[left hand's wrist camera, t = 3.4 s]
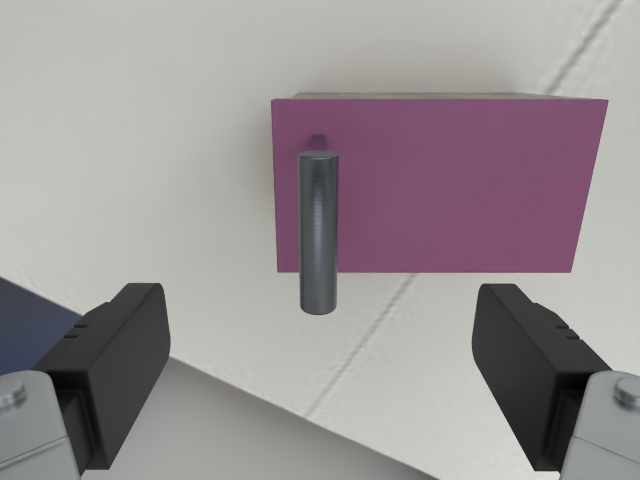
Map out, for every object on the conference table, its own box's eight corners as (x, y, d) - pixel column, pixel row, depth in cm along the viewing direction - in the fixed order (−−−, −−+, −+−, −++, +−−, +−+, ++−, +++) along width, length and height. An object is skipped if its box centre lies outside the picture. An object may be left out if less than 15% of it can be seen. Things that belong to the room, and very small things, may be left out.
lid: (278, 265, 26) (260, 348, 18) (273, 98, 23) (247, 110, 15) (562, 265, 26) (669, 349, 18) (597, 98, 22) (746, 110, 15)
